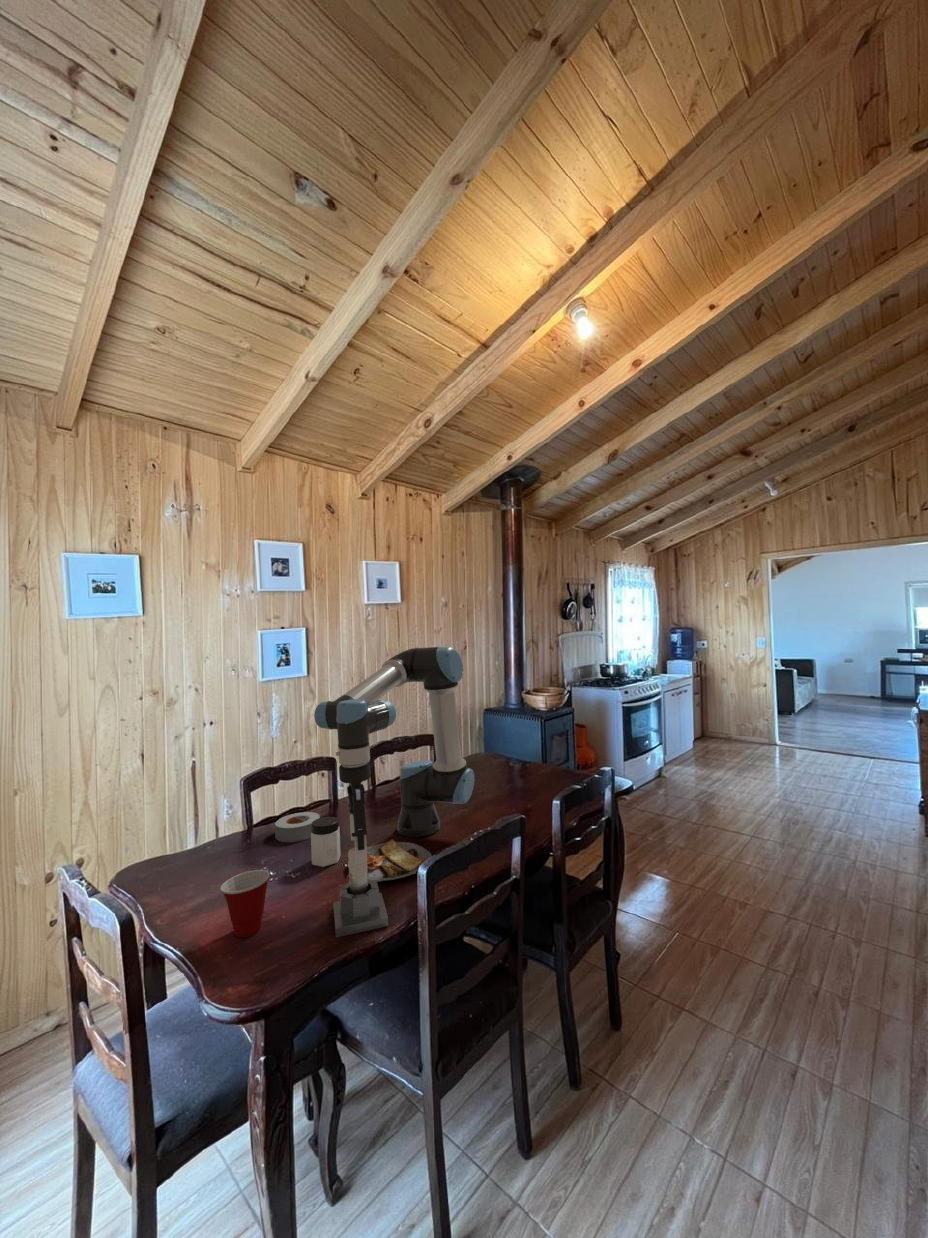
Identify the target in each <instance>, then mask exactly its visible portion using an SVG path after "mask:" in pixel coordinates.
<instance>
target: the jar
mask: <svg viewBox="0 0 928 1238" xmlns="http://www.w3.org/2000/svg"><path fill="white" fill-rule="evenodd" d="M340 833H341V831H340V822H339V818H338V817H336V816H323V817H320V818H319V819H316V820H314V821H313V822H312V833H311V838H310V845H311V846H310V849H311V851H310V852H311V865H312V866H317V867H322V868H325V867H327V866H331V865H333V864H338V862H339V860H340V857H341V856H342V855H341V835H340Z"/></svg>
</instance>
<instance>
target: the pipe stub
mask: <svg viewBox="0 0 928 1238" xmlns="http://www.w3.org/2000/svg"><path fill="white" fill-rule="evenodd" d="M347 854H348V855H347V856H348V861H349V867H348V874H349V882H350V894H352V895H360V894H365V893H366V892H368V871H367V862H364V863H359V864H356V863H355V847H352V848H350V849H348V853H347Z"/></svg>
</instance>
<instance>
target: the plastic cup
mask: <svg viewBox="0 0 928 1238" xmlns="http://www.w3.org/2000/svg"><path fill="white" fill-rule="evenodd" d="M270 877H271V876H270V871H267V870H265V869H256V870H255V869H254V870H249V871H245V872H242V873H238V874H237V875H235V876H232V877H230V878H229V879H227V880H226V881H224V882H223V884H221V885H220V892H222V893H223V895H224V898H225V901H226V903H227V908H228V914H229V917H230V922H231V925H232V929H233V933H234V935H235V936H236V937H237V938H248V937H250V936H253V935H255V934H256V933H258V932H259V931H260V929H261V927H262V922H263V917H264V910H265V901H266V895H267V894H266V893H267V887H268V883H269V882H268V881H269V878H270Z"/></svg>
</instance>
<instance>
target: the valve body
mask: <svg viewBox="0 0 928 1238" xmlns="http://www.w3.org/2000/svg"><path fill="white" fill-rule="evenodd" d="M345 879H346V880H345V883H346V884H344V885H342V886H341V887H340V888H339V900H338V901H333V903H332V904H333V918H334V919H333V920H334V929H335V938H340V937H344V936H349V935H353V934H359V933H363V932H367V931H372V930H377V929H381V928H385V927H389V916H388V913H387V911H388V910H387V908H386V905H385V901H384V898H383V894H382V892H380V889H379V885H378V882H377V881H373V880H369V879H368V892H366V893H365V894H360V895H352V894H350V882H349V873H348V875H347V876H346V878H345Z"/></svg>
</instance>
